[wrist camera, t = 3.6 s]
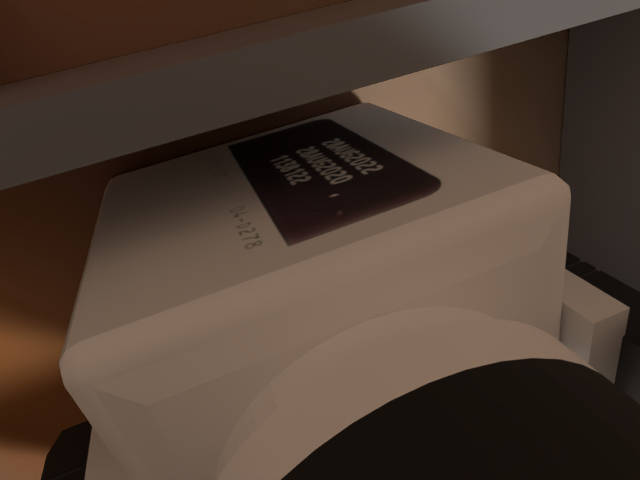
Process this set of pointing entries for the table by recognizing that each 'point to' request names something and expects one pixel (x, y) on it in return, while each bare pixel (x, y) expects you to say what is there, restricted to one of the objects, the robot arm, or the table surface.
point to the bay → (345, 75)
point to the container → (340, 315)
